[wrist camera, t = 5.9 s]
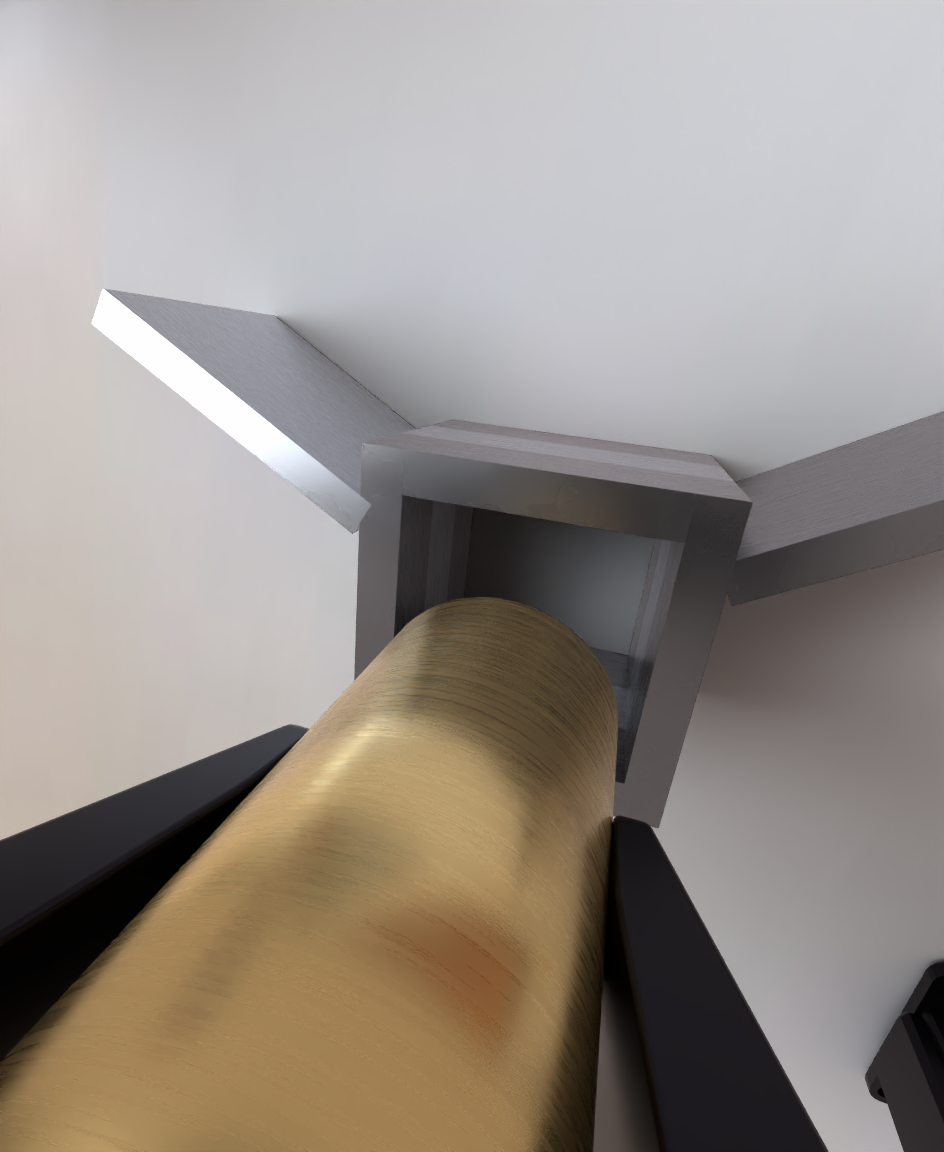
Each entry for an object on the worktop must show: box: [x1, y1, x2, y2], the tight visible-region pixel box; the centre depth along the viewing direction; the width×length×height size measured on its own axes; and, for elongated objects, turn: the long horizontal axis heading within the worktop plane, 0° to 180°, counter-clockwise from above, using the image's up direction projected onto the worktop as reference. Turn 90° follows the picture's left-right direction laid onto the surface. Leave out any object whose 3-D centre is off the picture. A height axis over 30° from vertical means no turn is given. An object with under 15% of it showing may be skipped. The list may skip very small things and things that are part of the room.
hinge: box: [92, 289, 944, 828], centre depth 14 cm, size 20×10×6 cm, turn 84°
